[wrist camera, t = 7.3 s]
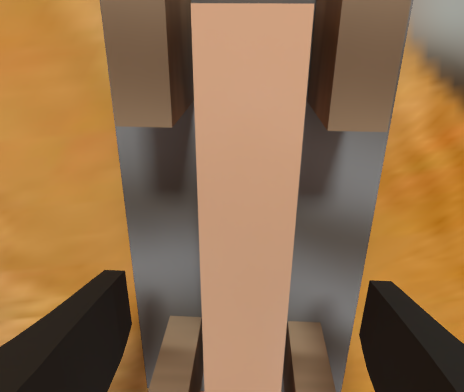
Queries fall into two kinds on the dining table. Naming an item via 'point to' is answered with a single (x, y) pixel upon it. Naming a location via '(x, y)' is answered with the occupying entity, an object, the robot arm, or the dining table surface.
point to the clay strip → (248, 182)
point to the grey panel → (310, 181)
